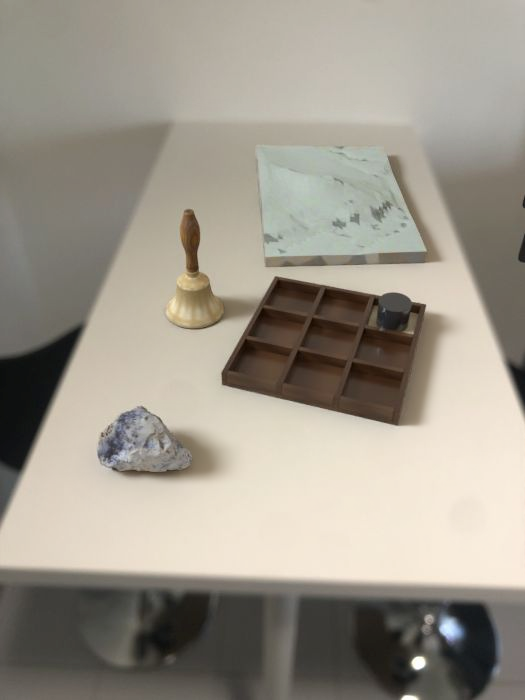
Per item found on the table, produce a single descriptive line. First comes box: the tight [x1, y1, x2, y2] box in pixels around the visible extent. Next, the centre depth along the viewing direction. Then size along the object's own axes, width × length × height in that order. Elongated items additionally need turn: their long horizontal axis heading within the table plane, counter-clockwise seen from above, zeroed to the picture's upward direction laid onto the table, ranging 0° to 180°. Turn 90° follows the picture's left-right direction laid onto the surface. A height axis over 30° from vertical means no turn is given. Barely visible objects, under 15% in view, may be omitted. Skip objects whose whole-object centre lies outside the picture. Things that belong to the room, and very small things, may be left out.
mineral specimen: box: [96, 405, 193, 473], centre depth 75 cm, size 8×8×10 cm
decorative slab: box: [255, 143, 428, 268], centre depth 118 cm, size 38×27×5 cm
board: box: [220, 275, 427, 426], centre depth 89 cm, size 22×22×2 cm
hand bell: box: [165, 208, 225, 330], centre depth 91 cm, size 8×8×16 cm
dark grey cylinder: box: [376, 291, 413, 332], centre depth 91 cm, size 4×4×4 cm
